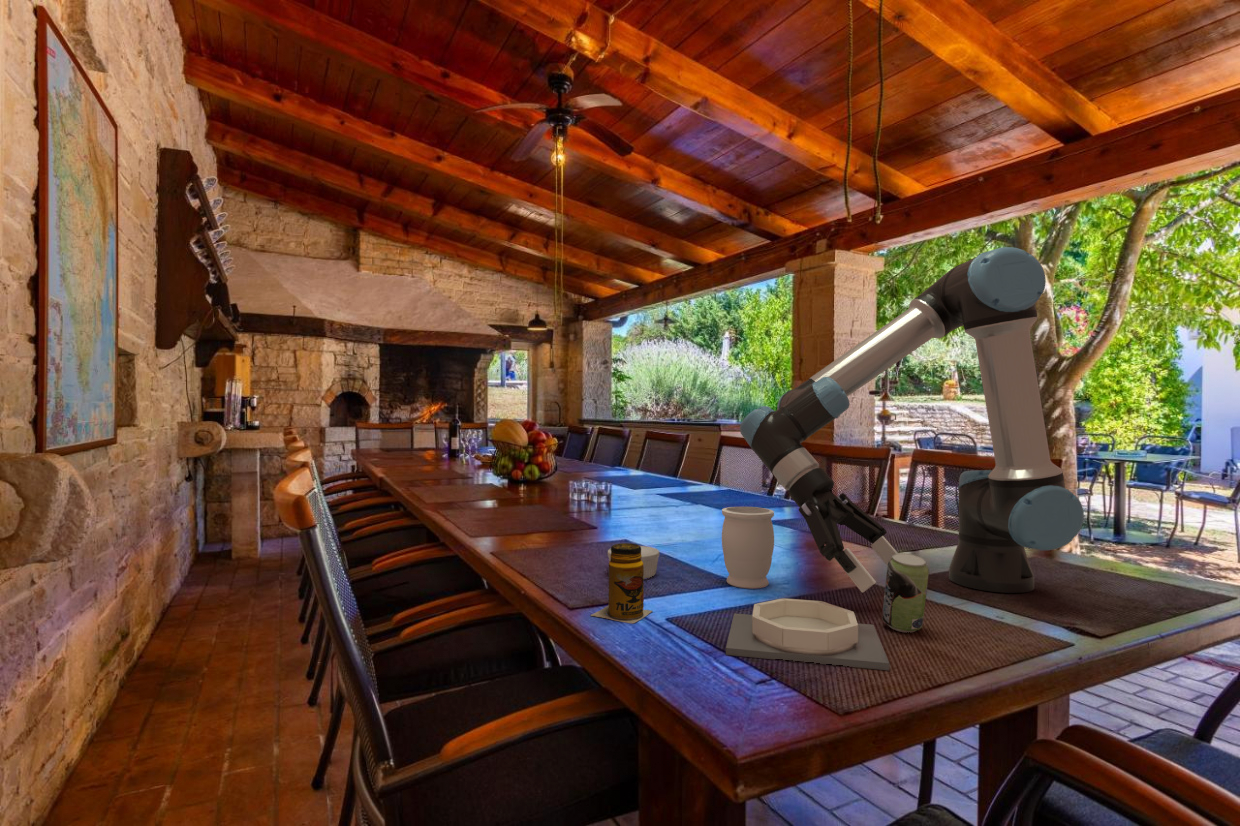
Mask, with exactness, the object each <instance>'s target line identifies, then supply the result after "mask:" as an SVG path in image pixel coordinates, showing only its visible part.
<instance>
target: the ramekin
mask: <svg viewBox="0 0 1240 826" xmlns="http://www.w3.org/2000/svg"><path fill="white" fill-rule="evenodd" d="M639 546H640V547H641V555H642V557H641V560H642V562H643V566H644V569H643V570H644V576H643V580H646V579H645V578H648V579H650V577H651V578H653V577H654V576H655V575H656V573H657V568H658V563H659V557H660V550H659V549H658V548H655V547H652V546H645V545H639ZM607 557H608V562H609V561H610V560H611V548H609V549H608V550H607ZM652 576H653V577H652Z"/></svg>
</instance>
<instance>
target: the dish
mask: <svg viewBox="0 0 1240 826" xmlns="http://www.w3.org/2000/svg"><path fill="white" fill-rule="evenodd" d="M751 615H752V633H753V634H754V636H755V637H756V638H757V639H758V640H759V641H761V642H762V643H764V644H766V645H768V646H771V647H773V648H777V649H780V650H784V651H788V652H794V653H800V654H811V655H827V654H836V653H841V652H845V651H848V650H850V649H851V648H853V647H854V646H855V644H856V643H857V642H858V624H859V623H858V621H857V618H856V613H855V612H854V611H852V610H849V609H847V608H843V607H840V606H838V605H835V604H831V603H828V602H825V601H821V600H809V599H797V598H796V599H795V598H778V599H773V600H768V601H762V602H758V603H754V604H753V610H752V614H751Z"/></svg>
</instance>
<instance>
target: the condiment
mask: <svg viewBox="0 0 1240 826" xmlns="http://www.w3.org/2000/svg"><path fill="white" fill-rule="evenodd" d="M640 546H641V545H639V544H636V543H630V542H629V543H628V542H623V543H622V542H620V543H616V544H613V545H612V546H611V547H610V549H611V560H610V561H609V560H608V576H607V577H608V594H607V595H608V602H607V603H608V605H606V606H605V607H604V608H601V609H600V610H598V611H595V612H594V613H592V614H590V616H591V617H597V618H604V619H607V620H611V621H617V622H621V623H627V624H636V623H637V622H639V621H640V620H642V619H644V618H645V617H647V616H648V615H649V614H650V613H652V612H653V610H649V609H644V607H645V605H644V604H645V603H644V600H645V598H644V594H645V591H644V589H645V587H644V584H645V583H644V582H645V581H644V579H643V576H644V570H643V569H644V566H643V562H642V560H641V557H642V555H641V547H640Z"/></svg>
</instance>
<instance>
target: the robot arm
mask: <svg viewBox="0 0 1240 826" xmlns="http://www.w3.org/2000/svg"><path fill="white" fill-rule="evenodd" d="M1045 289H1046V274H1045V271H1044V268H1043V266H1042V265H1041V263H1040V261H1039V260H1038V259H1037V258H1036V257H1035V256H1034V255H1032V254H1031V253H1029V252H1028V251H1026V250H1024V249H1022V248H1021V249H1020V248H1017V247H1012V246H1005V247H999V248H995V249H991V250H989V251H985V252H982V253H980V254H979V255H977V256H976V257H973V258H972V259H970V260H967V261H965V262H963V263H960V264H958V265H956V266H954V267H953V268H951V269H949V271H947V272H946V273H945V274H943V275H942V276H941V277H939V279H937V280H936V281H935V282H934V283H933V284H931V286H929V287H927V289H925V290H924V291H923V292H921V293H920V294H918V295H917V297H914V298H913V299H912V300H911V301H910V302H909V308H908V309H906V310H905V311H903V312H902V313H901V314H899V315H898V316H896V317H894V319H892V320H891V321H889V322H888V323H886V324H885V325H884V326H882V327H881V328H879V329H878V330H877V331H875V332H874V333H872V334H871V335H869V336H868V337H866V338H865V339H863V340H862V341H861V342H860V343H858V344H856V345H855V346H853V347H851V349H849V350H848V351H846V352H845V353H844V354H841V356H840V357H838V358H836V359H835V360H833V361H832V362H831V363H829V364H828V365H826V366H825V367H823V368H822V369H820V370H819V371H817V372H816V373H814V374H813V375H812V376H811V377H809V378H808V379H807V380H805V381H804V382H802V383H801V384H799V385H798V386H797V387H795V388H794V389H790V390H788V391H786V392H785V393H783V394H782V395H781V396H780V397H779V399H778V401H777V402H778V403H777V409H776V410H774V409H772V408H771V407H770V406H768V405H767V406H766V405H763V406H760V407H758V408H755V409H753V410H752V411H751V412H749V413H748V414H747V415H746V416H744V418H743V420H742V421H741V423H740V425H739V427H740V428H739V432H740V434H741V436H742V437H743V438H744V440H745V442H746V443H747V444H748V445H749V447H750V448H751V450H752V451H753V452H754V453H755V455H756V456H757V457H758V458H759V459H760V460H761V462H762V463H763V464H764V465H765V466H766V468H767V469H768V471H769V472H771V474H773V476H774V478H775V479H776V480H777V483H778V484H779V485H781V486H782V487H783V488H784V490H785V491H788V495H789V497H790V498H791V499H792V500H793V502H794V503H795V504H796V505H797V506H798V507H799V508H798V511H799V512H800V514H801V515H802V517H803V518H804V520H805V522H806V524H807V526H808V528H809V531H810V533H811V536H812V537H813V539H814V542H815V544H816V546H817V549H818V550H819V553H820V554H821V556H823V557H825V559H826V560H827V561H829V562H830V561H832V560H833V559H834V560H835V561H836V562H837V563H838V565H839V566H840V567H841V569H843V571H844V572H845V573H846V575H847V576H848V577H849V578H850V579H851V581H852V582H853V583H854V584H855V586H856V587H857V588H858V590H859V591H860V592H861V593H865V592H866V591H867V590H869V589H870V588H871V587H873V586H874V585H875V584H877V581H876V580H875V578H873V576H872V575H871V574H870V572H869V571H868V570H867V568H865V566H864V565H863V563H861V562H860V560H859V558H857V557H856V555H855V554H854V553H853V552H852V550H851V549H850V548H849V547H847V548H845V547H844V543H843V539H842V537H841V534H840V529H839V527H838V525H839V526H845V527H846V528H848V529H850V530H851V531H852V532H854V533H855V534H858V535H859V536H860V537H862V538H863V539H864V540H866V541H867V542H869V543H871V545H870V547H871V549H872V550H873V551H874V552H875V553H876V554H877V555H878V557H879V558H880V560H882V561H883V563H884V564H885V565H886V567H887V566H888V562H889V561H890V560H891V559H892V556H893V555H894V554H898V551H897V550H896V549H895V548H894V547H893V546H892V545H891V543H890V542H889V541H888V540H887V539H886V537H885V535H887V533H888V531H887V530H886V529H885V527H883V526H882V525H881V524H880V523H878V522H877V521H876V520H875V519H874V518H872V517H871V516H870V515H869V514H868V513H866V512H865V511H864V510H862V509H861V508H860V507H859V506H858V505H857V504H855V503H854V502H853V501H852V500H851V499H850V498H849V497H848V496H847V495H846V494H845V493H843V492H842V493H840V494H839V495H838V496H837V495H835V494H834V493H833V492H832V490H833V488H834V487H835V482H834V480H833V479H832V478H831V476H829V474H828V473H827V471H826V470H824V469H823V468H821V467H820V463H819V462H818V461H817V460H816V459H815V458H814V457H813V455H812V454H811V453H810V452H809V451H808V449H806V447H805V446H804V445H802V443H803V442H804V441H806V440H807V439H808V438H810V437H811V436H813V435H814V434H816V433H817V432H818V431H819V430H821V429H823V428H824V427H826V426H827V425H828V424H830V423H831V422H833V421H834V420H835V419H838V418H839V417H840V416H841V415H842V414H843V413H844V412H845V411H847V410H849V407H850V405H851V404H850V399H849V396H850V395H853V393H855V392H856V391H858V390H859V389H860V388H862V387H863V386H865V385H866V384H868V383H870V382H872V380H874V379H875V378H877V377H878V376H879V375H881V374H882V373H884V372H885V371H887V370H888V369H890V368H891V367H893V366H894V365H896V364H897V363H898V362H900V361H902V360H903V359H904V358H905V357H907V356H908V355H911V353H912V352H914V351H915V350H918V349H919V348H920V347H922V346H923V345H925V344H926V343H927V342H929V341H930V340H931V339H934V338H935V339H942V338H944V337H945V336H947V335H948V334H949V333H951V332H952V331H954V330H957V329H958V328H961V327H963V331H964V333H966V334H968V335H969V336H970V337H972V338H973V339H974V342H975V346H976V351H977V359H978V365H979V370H980V371H979V372H980V377H981V384H982V388H983V395H984V402H985V407H986V412H987V413H986V414H987V419H988V427H989V432H990V437H991V438H990V440H991V445H992V451H993V456H994V457H993V458H994V463H995V466H994V468H993V469H992V470H991V469H987V470H985V469H983V470H981V469H980V470H978V469H977V470H965V471H963V472H962V473H960V476H959V479H958V480H959V481H958V486H957V491H958V542H957V545H956V548H955V551H954V553H953V557H952V559H951V561H950V563H949V566H948V580H950V582H953V583H954V584H957V585H959V586H962V587H966V588H970V589H975V590H979V591H987V592H992V593H1005V594H1019V593H1028V592H1032V591H1034V589H1035V575H1034V572H1033V570H1032V566H1031V564H1030V561H1029V558H1028V555H1027V552H1026V550H1025V548H1028V549H1033V550H1039V551H1054V550H1057V549H1060V548H1063V547H1064V546H1065V547H1066V545H1068V544H1070V542H1072V541H1073V539H1074V538H1075V537H1076V536H1077V535H1078V534H1079V533H1080V531H1081V529H1082V527H1083V524H1084V516H1085V515H1084V514H1085V513H1084V507H1083V505H1082V503H1081V501H1080V499H1079V498H1078V496H1076V495H1075V494H1074V493H1073V492H1072V491H1071V490H1070V489H1068V488H1066V484H1065V479H1064V472H1063V469H1062V468H1060V467H1059V466H1057V465H1056V464H1055V463H1053V461H1052V460H1051V455H1050V450H1049V443H1048V437H1047V430H1046V424H1045V419H1044V418H1045V417H1044V411H1043V406H1042V401H1041V394H1040V389H1039V387H1040V386H1039V383H1038V382H1039V381H1038V375H1037V370H1036V363H1035V357H1034V352H1033V345H1032V338H1031V333H1030V330H1031V328H1032V327H1033V325H1034V324H1035V323H1036V322H1037V320H1038V312H1037V305H1036V303H1037V302H1038V301H1039V300H1040V298H1041V297H1042V295H1043V294H1044V291H1045Z"/></svg>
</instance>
